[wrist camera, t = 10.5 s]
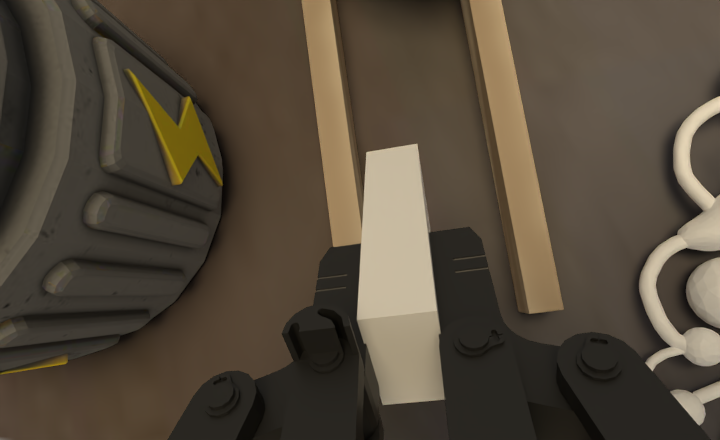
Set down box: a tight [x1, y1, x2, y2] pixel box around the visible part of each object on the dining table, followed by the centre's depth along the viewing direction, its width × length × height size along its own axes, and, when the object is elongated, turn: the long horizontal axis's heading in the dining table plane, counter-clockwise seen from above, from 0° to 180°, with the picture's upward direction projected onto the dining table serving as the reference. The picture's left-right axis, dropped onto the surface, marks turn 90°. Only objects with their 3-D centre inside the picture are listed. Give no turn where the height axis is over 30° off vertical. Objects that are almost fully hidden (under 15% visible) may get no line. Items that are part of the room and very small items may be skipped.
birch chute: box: [302, 0, 564, 314], centre depth 26 cm, size 10×22×4 cm, turn 8°
